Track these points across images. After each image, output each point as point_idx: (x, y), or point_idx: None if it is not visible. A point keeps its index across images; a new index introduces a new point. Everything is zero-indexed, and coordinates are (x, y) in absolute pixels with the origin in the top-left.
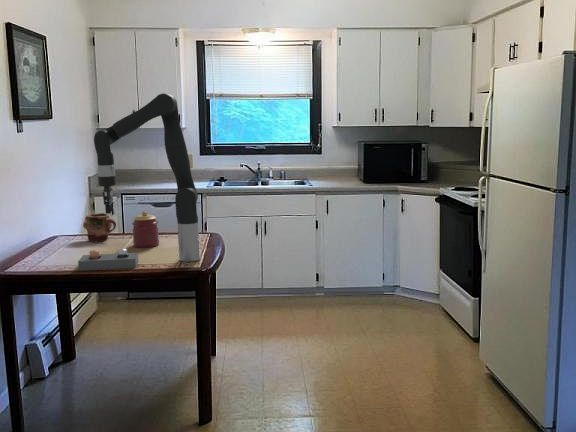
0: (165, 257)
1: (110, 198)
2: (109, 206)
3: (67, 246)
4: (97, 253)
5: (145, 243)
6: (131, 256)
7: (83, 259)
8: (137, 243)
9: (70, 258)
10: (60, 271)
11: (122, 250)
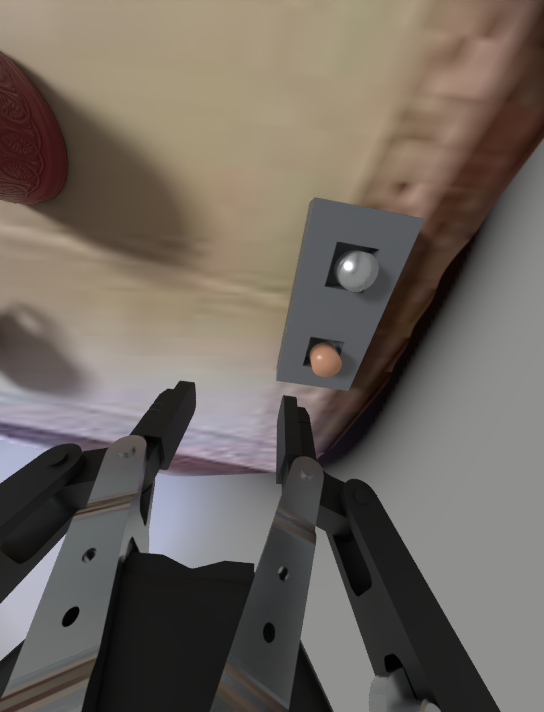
0: (290, 30)
1: (310, 555)
2: (298, 449)
3: (69, 397)
4: (338, 354)
5: (47, 134)
6: (374, 233)
7: (331, 380)
8: (51, 182)
9: (206, 391)
10: (328, 406)
11: (376, 273)
